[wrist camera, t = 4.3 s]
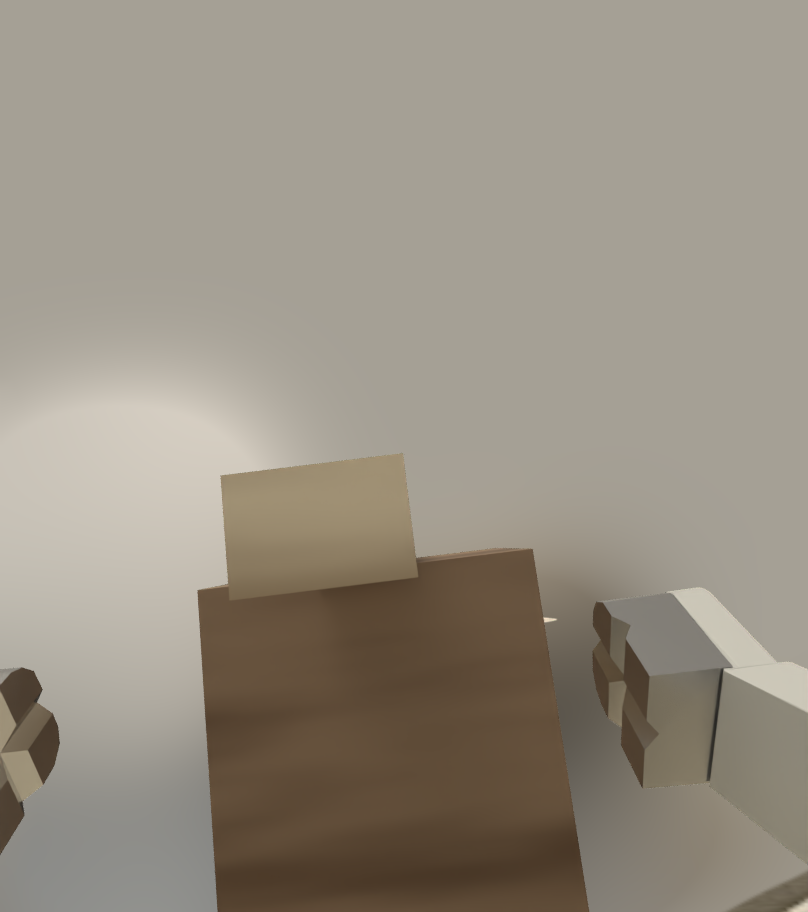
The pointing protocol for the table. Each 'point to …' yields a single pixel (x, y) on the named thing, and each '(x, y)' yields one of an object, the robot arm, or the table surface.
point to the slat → (317, 527)
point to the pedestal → (389, 745)
